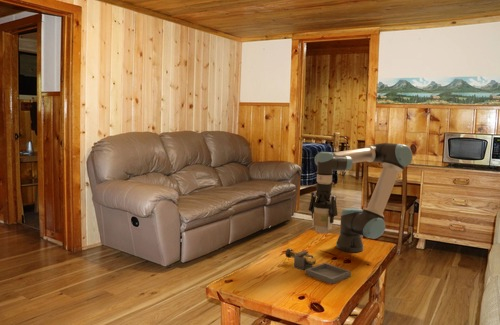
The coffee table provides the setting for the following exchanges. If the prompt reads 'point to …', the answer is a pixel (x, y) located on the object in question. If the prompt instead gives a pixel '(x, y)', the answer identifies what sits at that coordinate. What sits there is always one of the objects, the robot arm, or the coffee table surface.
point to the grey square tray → (328, 273)
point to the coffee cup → (321, 217)
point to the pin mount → (302, 261)
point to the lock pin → (310, 260)
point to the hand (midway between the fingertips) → (321, 227)
